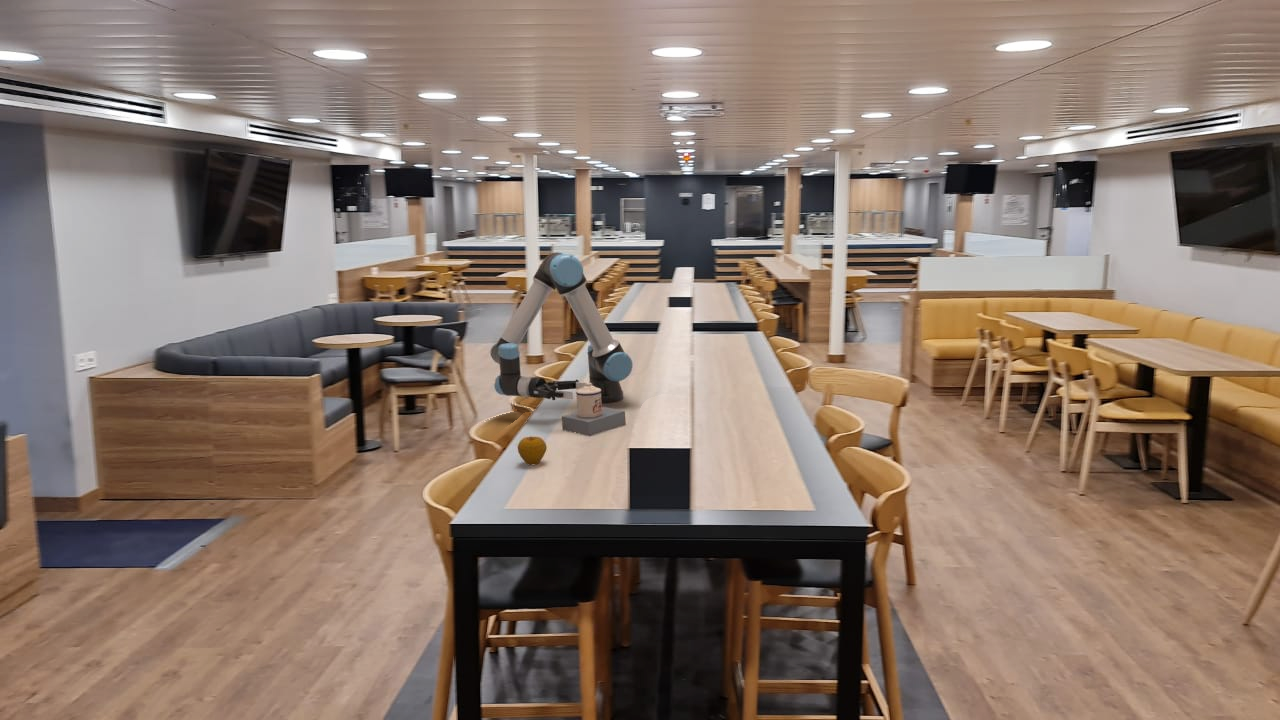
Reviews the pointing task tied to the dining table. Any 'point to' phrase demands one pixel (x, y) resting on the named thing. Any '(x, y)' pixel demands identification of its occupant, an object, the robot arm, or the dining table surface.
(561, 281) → the robot arm
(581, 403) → the teacup with lid
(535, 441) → the apple
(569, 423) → the charcoal rectangular block
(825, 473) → the dining table surface
